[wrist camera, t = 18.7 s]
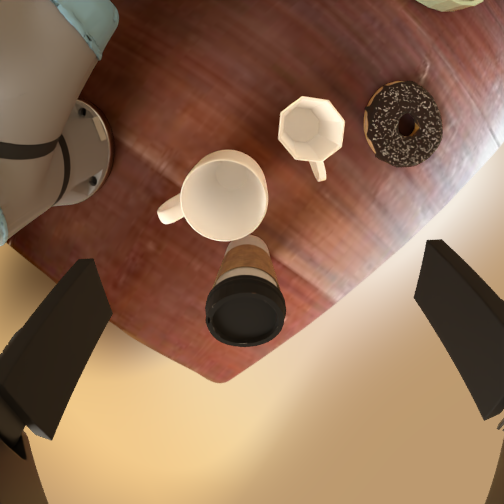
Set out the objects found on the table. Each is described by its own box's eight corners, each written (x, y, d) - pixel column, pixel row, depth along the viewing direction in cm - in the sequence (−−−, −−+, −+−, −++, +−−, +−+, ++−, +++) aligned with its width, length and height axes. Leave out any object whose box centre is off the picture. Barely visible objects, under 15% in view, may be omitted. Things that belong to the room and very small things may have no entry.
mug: (252, 132, 35) (251, 144, 25) (272, 193, 39) (279, 228, 29) (164, 165, 37) (132, 190, 27) (188, 221, 41) (167, 262, 31)
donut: (445, 125, 34) (461, 129, 30) (395, 181, 38) (408, 189, 34) (396, 65, 30) (410, 63, 27) (341, 124, 35) (350, 127, 31)
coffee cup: (220, 222, 41) (204, 285, 28) (282, 229, 41) (295, 294, 28) (215, 275, 45) (202, 348, 32) (272, 281, 45) (279, 355, 32)
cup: (318, 90, 33) (335, 88, 26) (339, 165, 37) (359, 181, 30) (263, 105, 34) (266, 105, 27) (287, 179, 38) (296, 198, 31)
